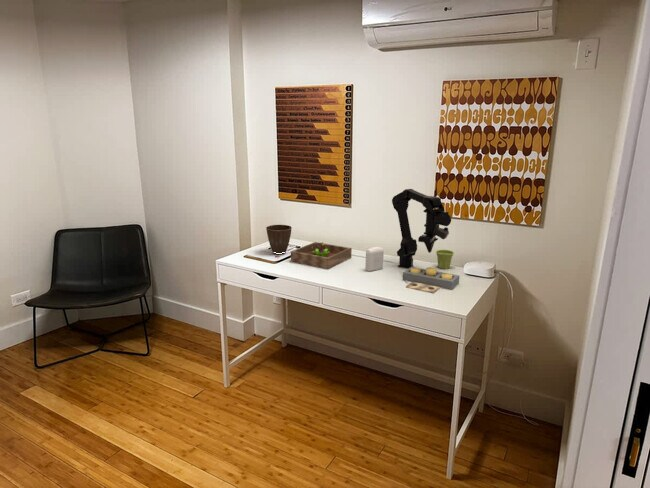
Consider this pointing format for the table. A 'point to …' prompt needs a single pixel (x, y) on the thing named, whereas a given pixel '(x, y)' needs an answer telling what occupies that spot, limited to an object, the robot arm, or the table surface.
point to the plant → (321, 251)
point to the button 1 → (415, 270)
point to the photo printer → (374, 258)
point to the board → (431, 279)
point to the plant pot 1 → (279, 238)
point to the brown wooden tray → (319, 261)
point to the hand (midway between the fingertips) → (429, 252)
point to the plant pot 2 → (444, 258)
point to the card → (422, 287)
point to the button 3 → (447, 276)
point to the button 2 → (431, 271)
